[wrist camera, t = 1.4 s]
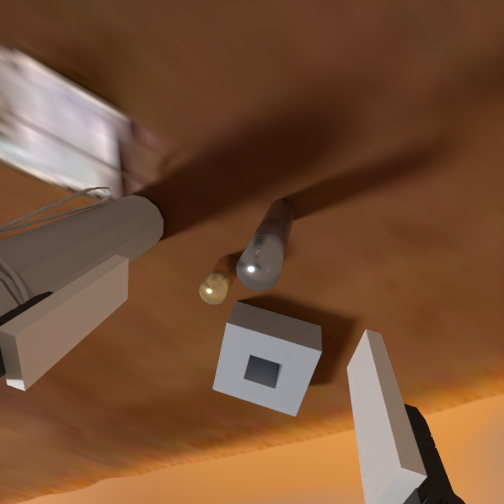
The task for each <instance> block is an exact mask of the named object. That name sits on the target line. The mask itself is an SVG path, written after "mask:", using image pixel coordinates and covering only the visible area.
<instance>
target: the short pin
mask: <svg viewBox="0 0 504 504" xmlns="http://www.w3.org/2000/svg"><path fill="white" fill-rule="evenodd" d="M237 263H238V261H237V259H235V258H234V257H232V256H224V257H222V258H221V259H220V260H219V262H218V263H217V264H216V266H215V267H214V268H213V270H212V271H211V272H210V274H209V275H208V276H207V278H206V279H205V280H204V282H203V283H202V284H201V286H200V289H199V293H200V296H201V298H202V299H203V300H204V301H205V302H207V303H209V304H213V305H215V304H219V303H221V302H222V301H223V300H224V298H225V297H226V295H227V293H228V291H229V289H230V287H231V285H232V284H233V282H234V280H235V278H236V276H237V271H236V267H237Z"/></svg>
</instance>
